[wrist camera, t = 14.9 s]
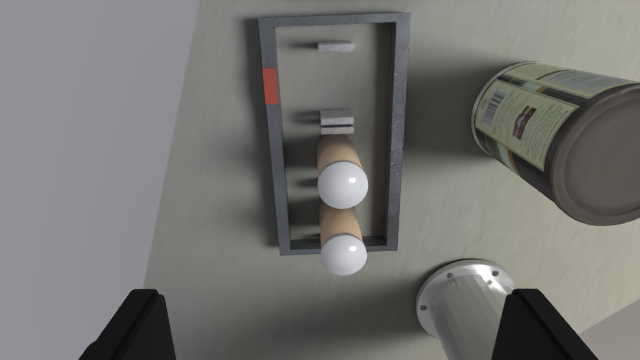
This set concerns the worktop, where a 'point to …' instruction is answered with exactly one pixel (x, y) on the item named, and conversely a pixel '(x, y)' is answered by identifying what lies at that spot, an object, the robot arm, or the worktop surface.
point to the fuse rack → (338, 122)
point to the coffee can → (566, 137)
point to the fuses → (340, 204)
